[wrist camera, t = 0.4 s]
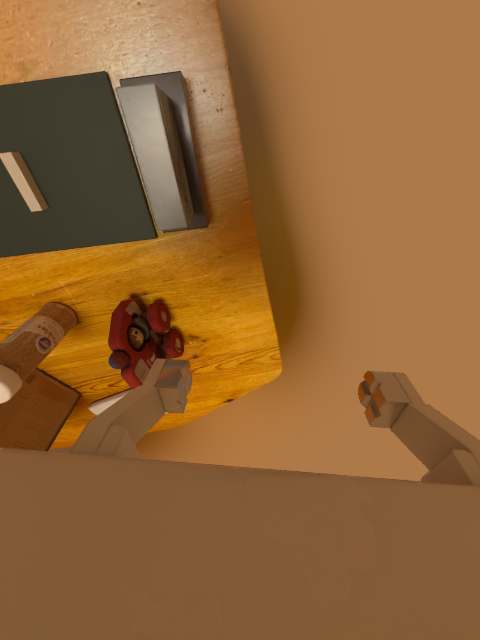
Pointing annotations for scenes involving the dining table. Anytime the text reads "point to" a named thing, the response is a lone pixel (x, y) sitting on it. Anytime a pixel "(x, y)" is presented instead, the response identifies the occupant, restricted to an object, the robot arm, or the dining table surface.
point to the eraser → (165, 148)
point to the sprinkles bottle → (32, 345)
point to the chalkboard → (69, 167)
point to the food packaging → (36, 412)
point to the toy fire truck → (140, 340)
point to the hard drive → (106, 402)
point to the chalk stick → (24, 180)
